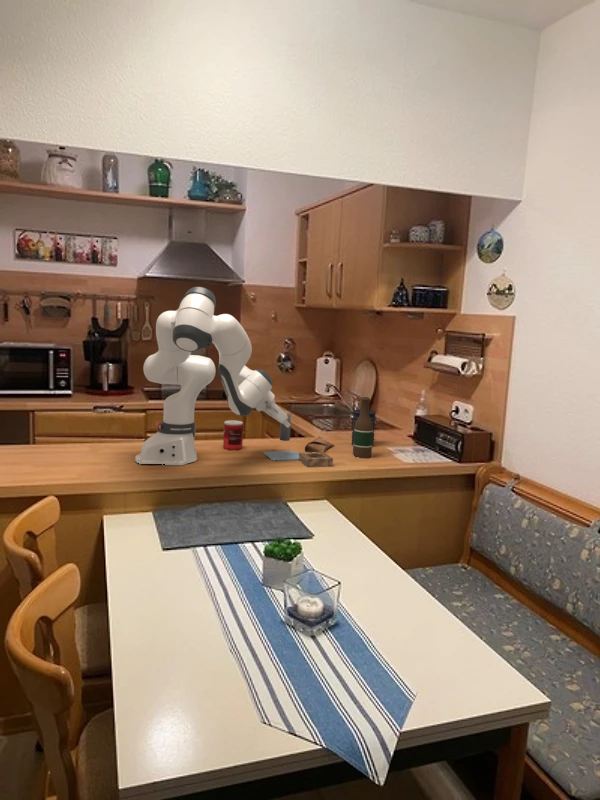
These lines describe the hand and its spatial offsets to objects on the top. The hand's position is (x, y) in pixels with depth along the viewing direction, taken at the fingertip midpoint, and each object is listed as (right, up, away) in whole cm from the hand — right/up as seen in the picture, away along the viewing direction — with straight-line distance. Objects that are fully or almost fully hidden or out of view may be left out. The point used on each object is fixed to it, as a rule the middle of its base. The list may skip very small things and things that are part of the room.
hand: (286, 424), depth 238 cm
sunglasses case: (+14, -11, +19) cm, 26 cm away
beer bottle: (+30, -13, +9) cm, 34 cm away
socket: (+11, -14, -7) cm, 19 cm away
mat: (-1, -12, +2) cm, 13 cm away
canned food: (-22, -10, +11) cm, 27 cm away
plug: (-1, -6, +1) cm, 6 cm away
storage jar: (+33, -10, +30) cm, 46 cm away
